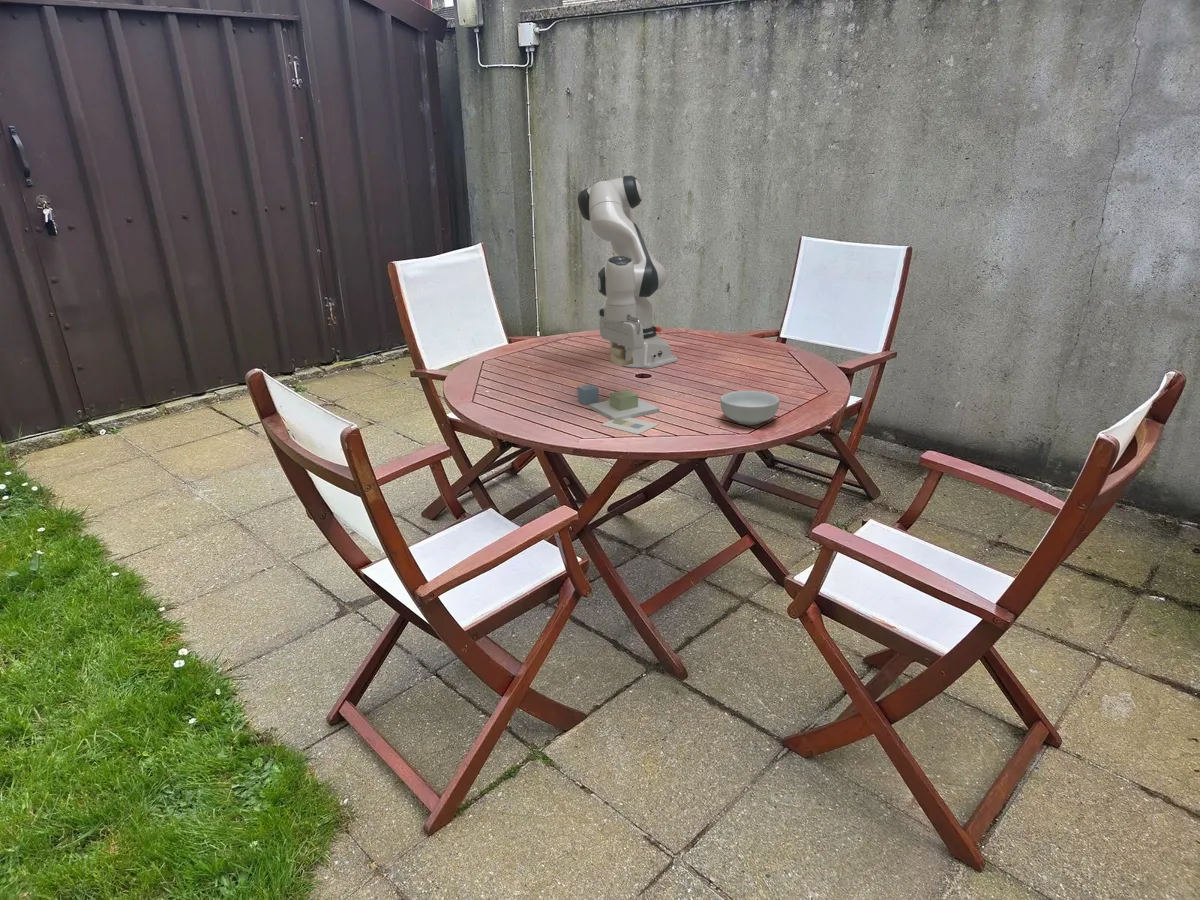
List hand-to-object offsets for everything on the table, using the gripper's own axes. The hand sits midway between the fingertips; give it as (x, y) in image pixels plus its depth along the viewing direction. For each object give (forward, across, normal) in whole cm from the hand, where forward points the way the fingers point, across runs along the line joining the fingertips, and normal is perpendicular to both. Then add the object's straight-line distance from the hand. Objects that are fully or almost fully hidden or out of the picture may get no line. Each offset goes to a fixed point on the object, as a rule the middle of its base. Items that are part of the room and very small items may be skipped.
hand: (621, 358), depth 228 cm
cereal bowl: (+17, -30, -25) cm, 43 cm away
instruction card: (+17, -13, +6) cm, 22 cm away
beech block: (+2, 0, 0) cm, 2 cm away
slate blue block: (+17, +14, +5) cm, 22 cm away
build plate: (+17, 0, 0) cm, 17 cm away
